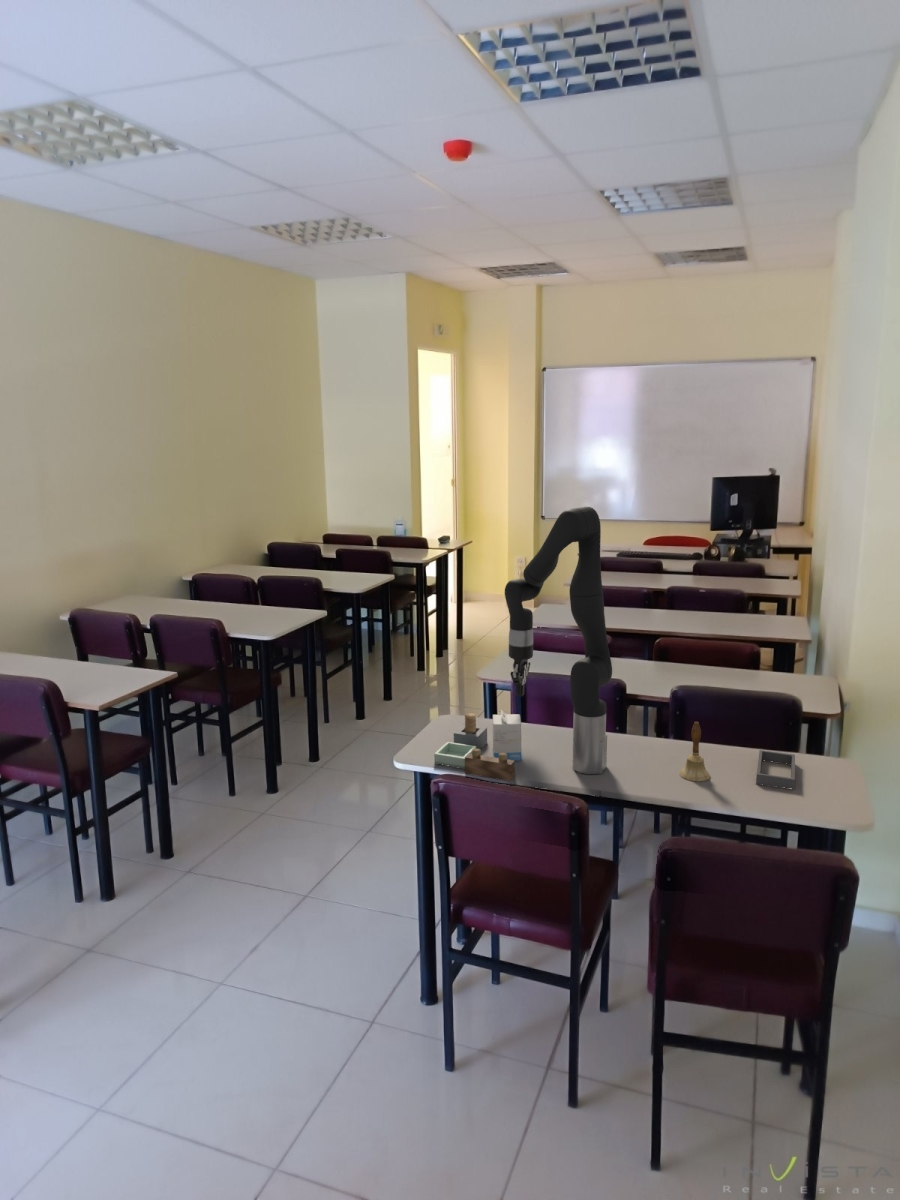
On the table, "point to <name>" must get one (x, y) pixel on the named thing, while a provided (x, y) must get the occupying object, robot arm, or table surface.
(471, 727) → the dowel
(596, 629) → the robot arm
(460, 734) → the socket block
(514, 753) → the ink box
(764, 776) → the frame
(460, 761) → the tray
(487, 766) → the peg rack
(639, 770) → the table surface
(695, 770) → the hand bell
